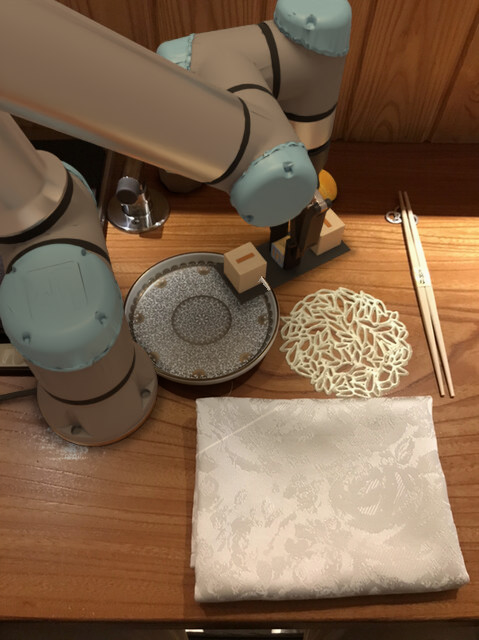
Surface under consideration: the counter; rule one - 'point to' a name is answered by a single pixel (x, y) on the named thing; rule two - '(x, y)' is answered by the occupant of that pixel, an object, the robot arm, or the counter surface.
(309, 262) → the word mat
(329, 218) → the beige wooden block
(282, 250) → the alphabet block
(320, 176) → the bread roll
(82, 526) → the counter surface
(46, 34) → the robot arm
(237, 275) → the small cardboard box
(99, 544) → the counter surface
